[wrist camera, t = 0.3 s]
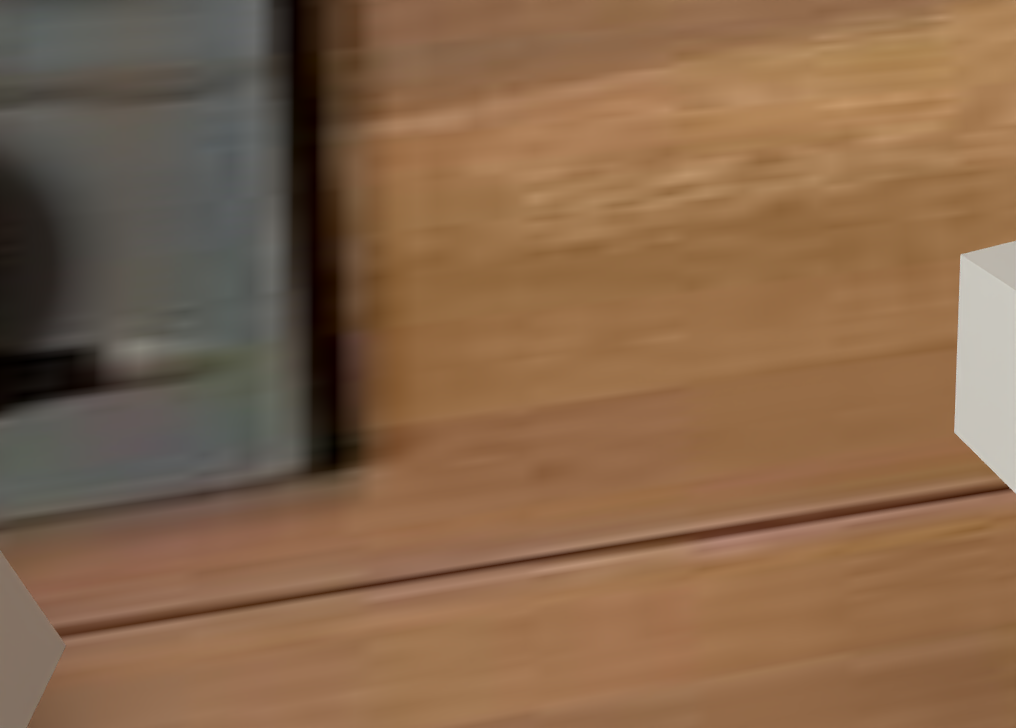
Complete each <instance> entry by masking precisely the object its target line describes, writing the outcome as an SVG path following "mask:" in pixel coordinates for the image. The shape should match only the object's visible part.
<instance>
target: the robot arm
mask: <svg viewBox="0 0 1016 728" xmlns="http://www.w3.org/2000/svg"><path fill="white" fill-rule="evenodd" d="M954 433H955V434H956V435H957V436H958V437H959V438H960V439H961V440H962V441H963V442H964V443H966V444H967V445H968V446H969V447H970V448H971V449H972V450H973V451H974V452H975V453H976V454H977V455H978V456H979V457H980V458H981V459H982V460H983V461H984V462H985V463H986V464H987V465H988V466H989V467H990V468H991V469H992V470H993V471H994V472H995V473H996V474H997V475H998V476H999V477H1000V478H1001V479H1002V480H1003V481H1004V482H1005V483H1006V484H1007V485H1008V486H1009V487H1010V488H1011V489H1012V490H1013V491H1014V492H1015V493H1016V241H1013V242H1009V243H1005V244H1001V245H997V246H993V247H989V248H985V249H981V250H977V251H973V252H969V253H965V254H961V257H960V286H959V315H958V343H957V372H956V401H955V429H954ZM65 647H66V645H65V643H64V642H63V641H62V639H61V638H60V636H59V635H58V633H57V632H56V630H55V629H54V628H53V626H52V625H51V623H50V622H49V620H48V619H47V617H46V616H45V614H44V613H43V612H42V610H41V609H40V607H39V606H38V604H37V603H36V601H35V600H34V599H33V597H32V596H31V594H30V593H29V591H28V590H27V588H26V587H25V586H24V584H23V583H22V581H21V580H20V578H19V577H18V575H17V574H16V573H15V571H14V570H13V568H12V567H11V565H10V564H9V562H8V561H7V560H6V558H5V557H4V555H3V554H2V552H1V551H0V728H27V726H28V724H29V722H30V720H31V717H32V715H33V713H34V711H35V709H36V707H37V705H38V703H39V701H40V699H41V697H42V695H43V693H44V690H45V688H46V686H47V684H48V682H49V680H50V678H51V676H52V674H53V672H54V670H55V668H56V666H57V663H58V661H59V659H60V657H61V655H62V653H63V651H64V649H65Z"/></svg>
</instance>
